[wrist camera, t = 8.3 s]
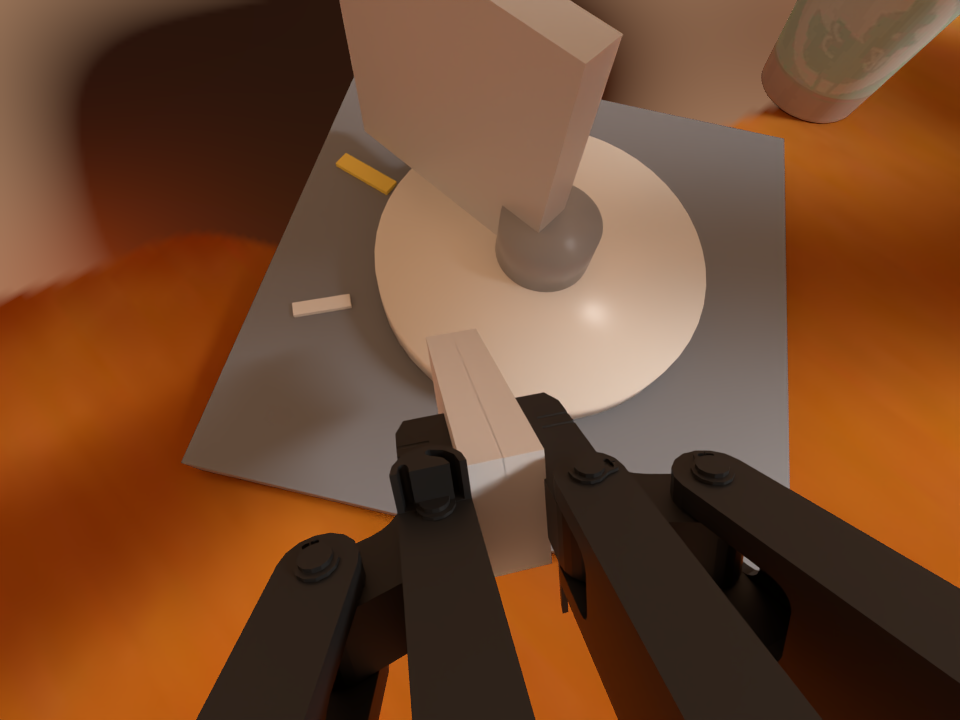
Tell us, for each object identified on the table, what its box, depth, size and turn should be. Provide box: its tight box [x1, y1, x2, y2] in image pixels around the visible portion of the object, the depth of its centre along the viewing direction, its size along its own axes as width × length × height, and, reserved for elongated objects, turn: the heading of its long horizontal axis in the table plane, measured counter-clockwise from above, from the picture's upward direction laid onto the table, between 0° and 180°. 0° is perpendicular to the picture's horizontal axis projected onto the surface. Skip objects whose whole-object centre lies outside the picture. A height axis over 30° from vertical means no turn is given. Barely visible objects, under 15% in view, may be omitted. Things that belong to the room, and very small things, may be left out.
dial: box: [340, 0, 706, 419], centre depth 18 cm, size 17×14×10 cm
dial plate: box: [181, 78, 790, 570], centre depth 23 cm, size 23×23×2 cm
